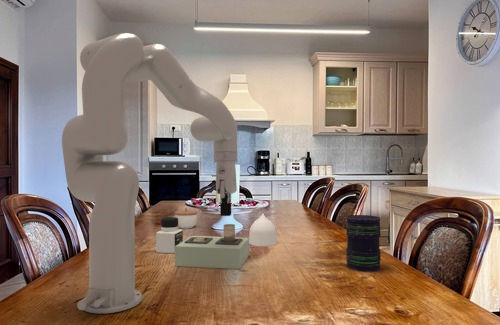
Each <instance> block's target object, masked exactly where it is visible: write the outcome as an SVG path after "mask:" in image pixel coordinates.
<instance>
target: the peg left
mask: <svg viewBox="0 0 500 325" xmlns="http://www.w3.org/2000/svg"><path fill="white" fill-rule="evenodd" d="M193 241H203V242H204V241H205V239H204V238H195V239H193Z"/></svg>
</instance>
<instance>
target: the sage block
mask: <svg viewBox="0 0 500 325" xmlns="http://www.w3.org/2000/svg"><path fill="white" fill-rule="evenodd" d="M195 238H204V239H205V241H204V242H203V241H193V239H195ZM249 256H250V244H249V237H244V236H243V237H242V236H241V237H239V236H238V237H237V236H235V243H231V242H224V236H211V235H210V236H209V235H208V236H206V235H191V236H190V237H188V238H186V239H183V242H181V243H180V244H178V245H176V246H175V253H174V266H175V267H185V268H187V267H189V268H205V269H207V268H209V269H228V270H229V269H231V270H241V268H242V266H244V263H246V261H247V260H248V258H249Z"/></svg>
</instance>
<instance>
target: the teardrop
mask: <svg viewBox="0 0 500 325" xmlns="http://www.w3.org/2000/svg"><path fill="white" fill-rule="evenodd" d="M277 234H278V233H277V230H276V227H275V225H274V223H273V222H272V221H271V220H270V219H269V218H268V217H266V216H265V214H264V212H262V214H261V215H260V216H259V217H258V218H257V219H256V220H254V222H252V225H251V226H250V228H249V235H248V238H249V245H251V246H255V247H270V246H276V245H277V244H278V241H277V240H278V236H277Z"/></svg>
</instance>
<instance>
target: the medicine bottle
mask: <svg viewBox="0 0 500 325" xmlns="http://www.w3.org/2000/svg"><path fill="white" fill-rule="evenodd" d="M160 229H161V230H159V231H157V232H156V233H155V234H156V235H155V238H156V240H155V243H156V244H155V245H156V246H155V247H156V248H155V252H156V253H157V254H175V246H176V245H178V244H180V243H181V242H183V241H184V238H183V236H184V235H183V234H184V233H183V232H184V231H183V229H181V228H179V226H178V218H177V217H175V216H164V217H161V219H160Z"/></svg>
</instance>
